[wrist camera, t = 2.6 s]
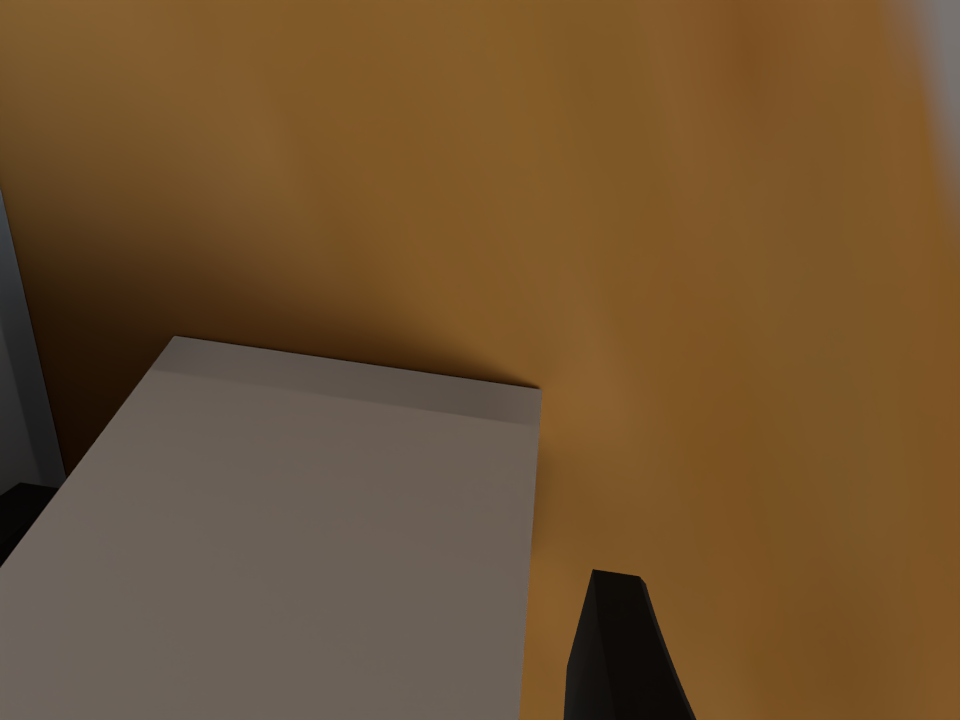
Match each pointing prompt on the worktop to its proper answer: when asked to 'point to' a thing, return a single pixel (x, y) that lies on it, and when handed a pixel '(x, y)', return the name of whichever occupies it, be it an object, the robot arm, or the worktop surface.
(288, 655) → the box
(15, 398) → the big crate
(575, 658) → the robot arm
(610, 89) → the worktop surface
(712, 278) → the worktop surface
